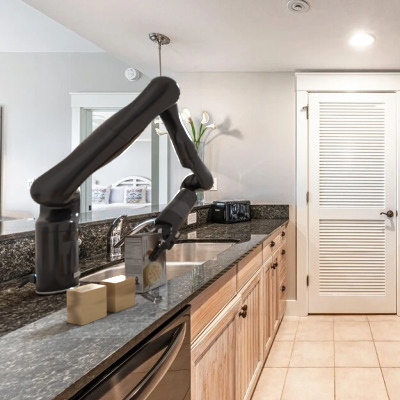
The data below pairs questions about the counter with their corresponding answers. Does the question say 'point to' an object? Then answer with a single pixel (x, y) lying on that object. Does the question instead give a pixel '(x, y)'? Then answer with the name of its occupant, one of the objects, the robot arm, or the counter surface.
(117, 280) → the maple block middle
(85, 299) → the maple block near
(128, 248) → the printed cardboard box
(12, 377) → the counter surface
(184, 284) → the counter surface
